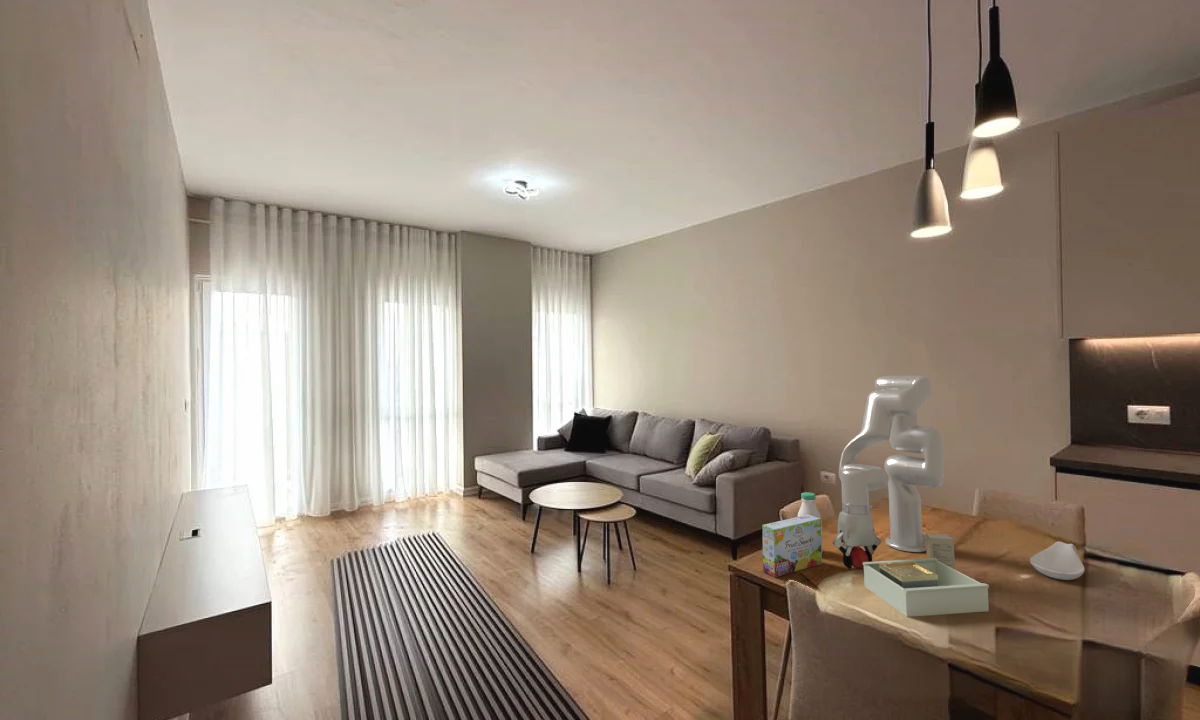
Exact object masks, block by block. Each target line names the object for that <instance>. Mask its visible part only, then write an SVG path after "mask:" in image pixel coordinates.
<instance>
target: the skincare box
mask: <svg viewBox="0 0 1200 720" xmlns="http://www.w3.org/2000/svg"><path fill="white" fill-rule="evenodd" d="M925 534H926V549H927V551H926V558H936V559H938V561H939V562H941V563H943V564H945V565H947V566H949V567H951V568H953V569H955V570H956V561H955V545H954V543H955V542H954V538H952V536H950V535H949V534H945V533H927V532H926V533H925Z"/></svg>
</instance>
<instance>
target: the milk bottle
mask: <svg viewBox="0 0 1200 720" xmlns="http://www.w3.org/2000/svg"><path fill="white" fill-rule="evenodd" d="M800 494H801V505H800V508H799V510H798V513H797V517H799V516H804V515H811V516H814V517H817V518H821V519H822V516H821V513H820V512H819V509H818V507H817V505H816V500H817V499H816V497H817V496H816V494H815V493H814V492H807V491H804V492H802V493H800ZM822 525H823V523H821V553H824V552H823V551H824V549H823V547H824V546H823V530H822V529H823V528H822Z"/></svg>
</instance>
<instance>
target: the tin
mask: <svg viewBox="0 0 1200 720" xmlns="http://www.w3.org/2000/svg"><path fill="white" fill-rule="evenodd" d="M879 568H880V573H881V574H882V575H884V576H885V577H887V578H888V579H890V580H891V581H893V582H895V583H896V584H898V585H899V586H901V587H902V588H904V589H905V588H920V587H935V586H938V574H936V573H934V572H932V571H931V570H929V569H927V568H925V567H923V566H922V565H920V564H918V563H916V562H914V561H903V562H887V563H879Z"/></svg>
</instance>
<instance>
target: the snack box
mask: <svg viewBox="0 0 1200 720" xmlns="http://www.w3.org/2000/svg"><path fill="white" fill-rule="evenodd" d="M821 524H822V517H821V518H817V517H814V516H811V515H804V516H799V517H798V516H795V517H791V518H787V519H783V520H778V521H775V522H769V523H766V524H762V525H761V526H762V527H761V528H762V572H763V573H765V574H767V575H769V576H770V577H773V578H777V577H782V576H785V575H788V574H791V573H795V572H798V571H802V570H805V569H808V568H812V567H815V566H819V565H822V562H823V560H822V559H823V558H822V553H823V552H822V553H821Z"/></svg>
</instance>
